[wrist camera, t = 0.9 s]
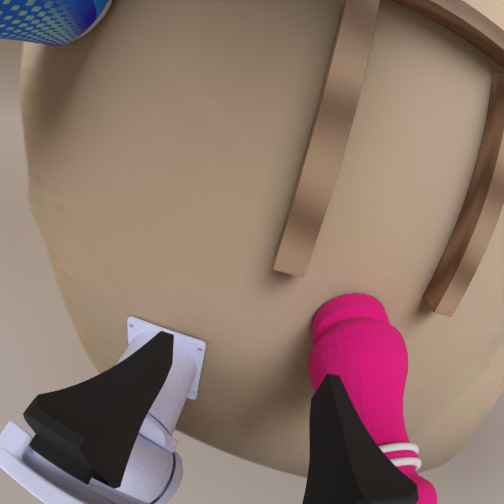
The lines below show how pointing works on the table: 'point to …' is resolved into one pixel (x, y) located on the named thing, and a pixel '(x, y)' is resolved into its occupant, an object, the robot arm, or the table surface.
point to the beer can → (50, 19)
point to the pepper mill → (369, 374)
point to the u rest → (337, 132)
